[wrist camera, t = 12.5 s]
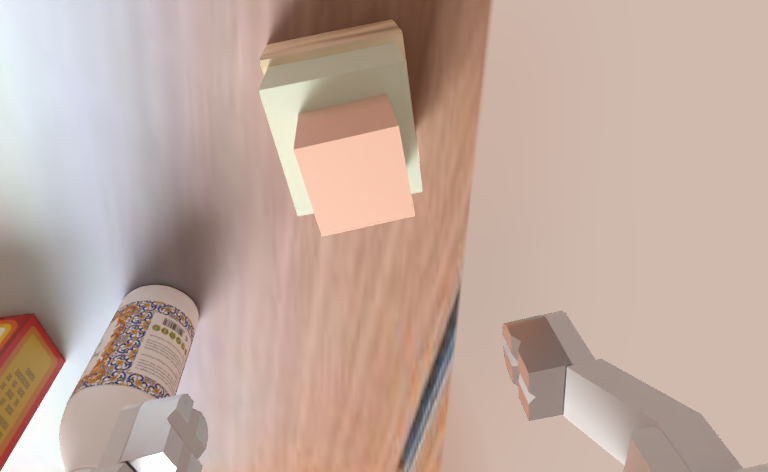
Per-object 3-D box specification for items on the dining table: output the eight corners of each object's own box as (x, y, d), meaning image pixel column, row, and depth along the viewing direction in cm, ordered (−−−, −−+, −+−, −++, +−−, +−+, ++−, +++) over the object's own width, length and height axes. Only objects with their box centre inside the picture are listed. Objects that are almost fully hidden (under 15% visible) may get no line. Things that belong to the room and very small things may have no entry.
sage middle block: (267, 67, 29) (258, 90, 25) (393, 42, 29) (405, 61, 25) (300, 180, 33) (297, 216, 29) (410, 159, 33) (422, 191, 29)
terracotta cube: (298, 114, 26) (293, 149, 22) (386, 93, 26) (398, 125, 22) (322, 191, 29) (321, 236, 24) (401, 173, 28) (415, 215, 24)
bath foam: (138, 270, 42) (18, 495, 25) (212, 300, 44) (147, 521, 28) (111, 320, 44) (-14, 553, 28) (182, 345, 47) (106, 571, 31)
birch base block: (266, 44, 33) (259, 60, 29) (392, 18, 33) (402, 31, 29) (300, 159, 38) (298, 187, 34) (409, 137, 38) (420, 163, 34)
